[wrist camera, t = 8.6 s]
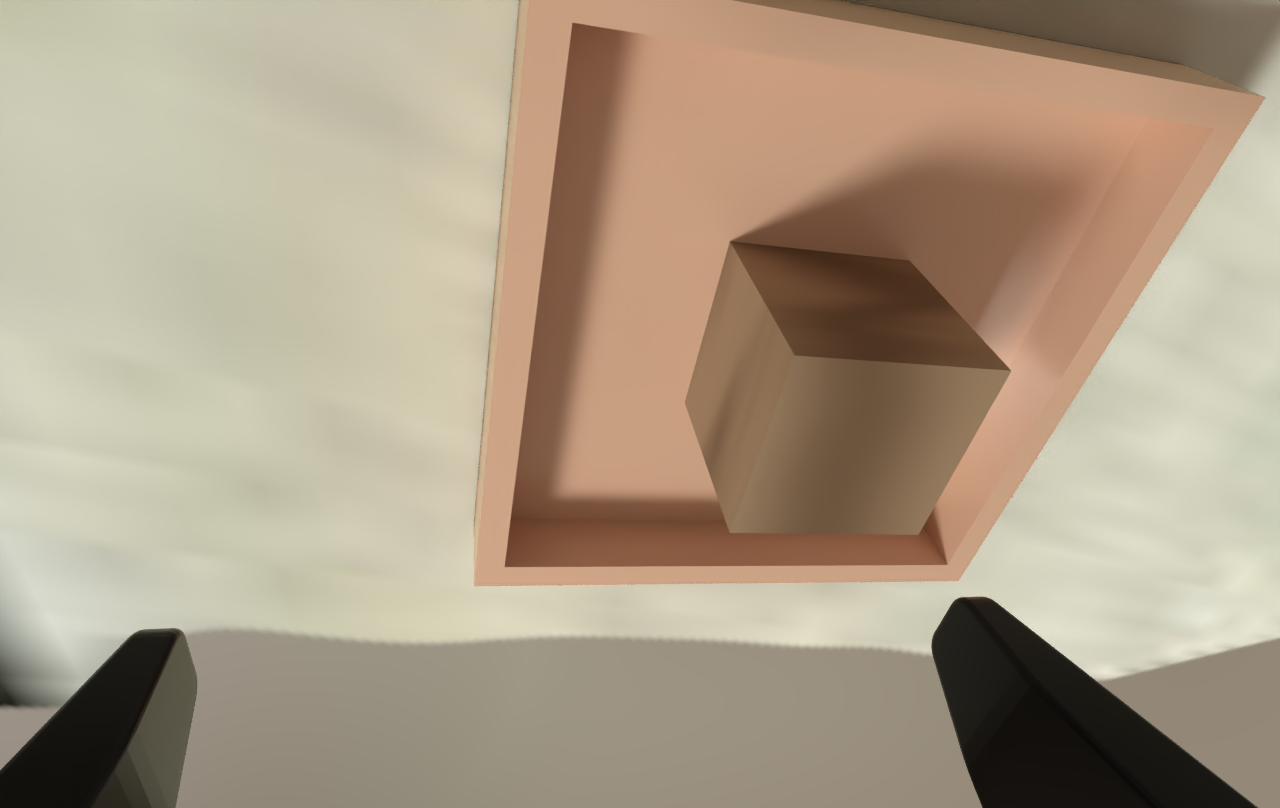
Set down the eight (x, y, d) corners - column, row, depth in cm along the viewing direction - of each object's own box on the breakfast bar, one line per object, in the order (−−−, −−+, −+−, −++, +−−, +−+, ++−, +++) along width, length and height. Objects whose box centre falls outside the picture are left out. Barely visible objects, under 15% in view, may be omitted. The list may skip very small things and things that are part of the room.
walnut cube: (909, 260, 21) (1011, 370, 17) (844, 411, 23) (918, 534, 20) (729, 241, 19) (794, 355, 15) (684, 402, 22) (729, 533, 18)
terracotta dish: (1185, 65, 19) (1266, 96, 17) (925, 526, 28) (958, 580, 27) (524, -59, 15) (531, -36, 13) (473, 522, 25) (474, 585, 23)
